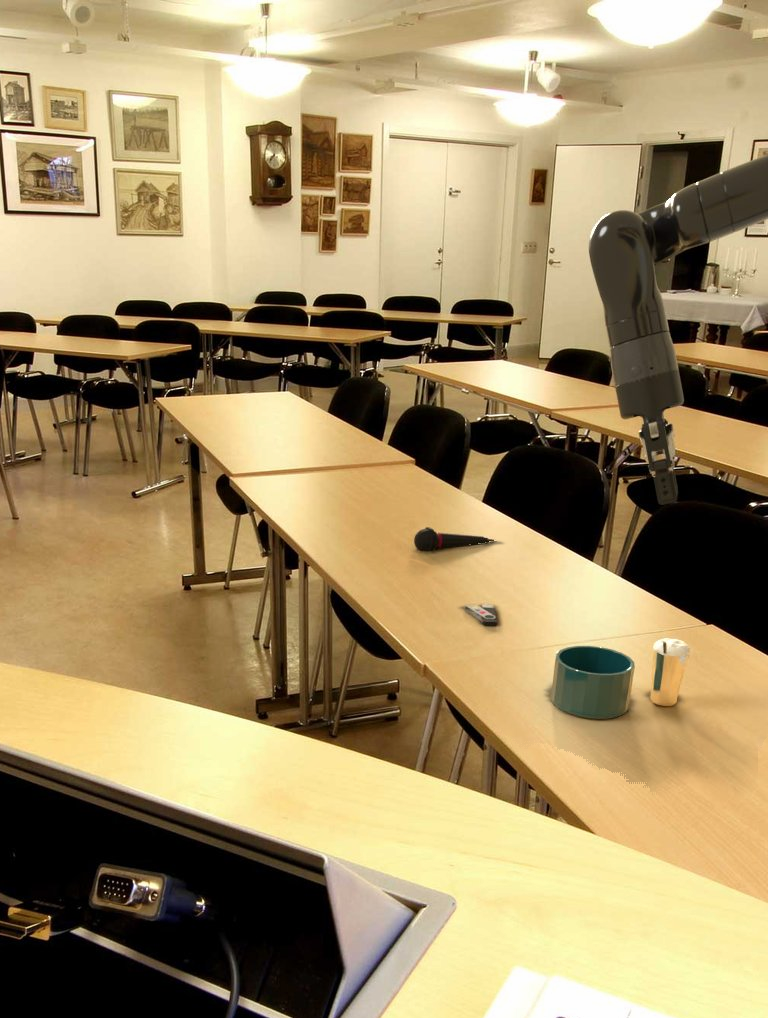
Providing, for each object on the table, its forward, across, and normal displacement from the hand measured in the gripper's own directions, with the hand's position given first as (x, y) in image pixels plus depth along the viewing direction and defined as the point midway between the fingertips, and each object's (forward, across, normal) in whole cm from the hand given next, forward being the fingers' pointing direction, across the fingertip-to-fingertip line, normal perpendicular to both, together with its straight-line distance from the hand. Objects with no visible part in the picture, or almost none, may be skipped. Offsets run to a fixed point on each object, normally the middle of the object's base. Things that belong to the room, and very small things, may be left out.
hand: (669, 500), depth 118 cm
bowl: (+26, 0, +15) cm, 29 cm away
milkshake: (+28, +4, +6) cm, 29 cm away
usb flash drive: (+16, +27, +34) cm, 46 cm away
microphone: (+7, +66, +45) cm, 80 cm away
